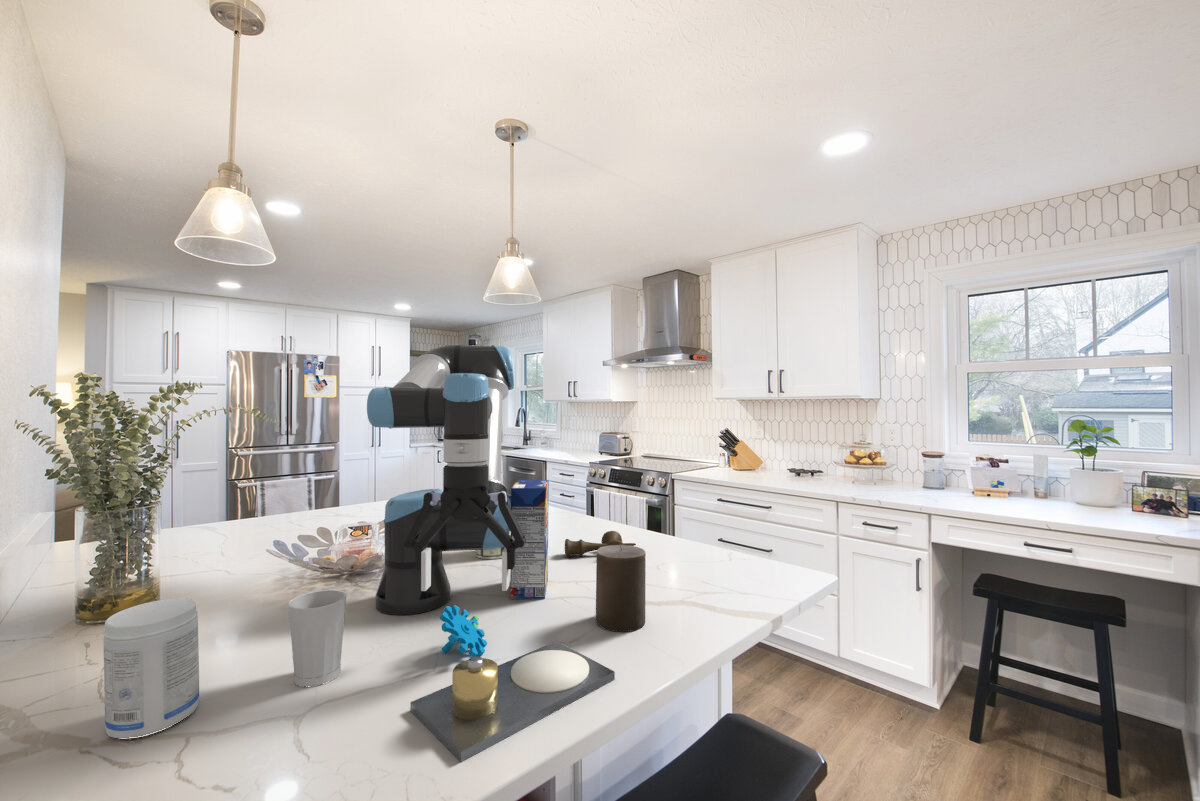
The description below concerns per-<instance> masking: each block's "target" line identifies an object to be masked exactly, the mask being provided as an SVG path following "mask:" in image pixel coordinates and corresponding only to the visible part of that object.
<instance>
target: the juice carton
mask: <svg viewBox="0 0 1200 801" xmlns="http://www.w3.org/2000/svg"><path fill="white" fill-rule="evenodd" d="M549 484H550V482H549V479H517V480H516V481H515V482H514V484H513V485H512V487H511V488H510V490H511V491H510V493H511V510H512V512H513V514H514V516H515V518H516V520H517V522H518V524H519V526H520V528H521V530H522V532H523V534H524V536H525V538H526V542H525V544H524V546H523V547H519V548H517V549H516V550H515V566H514V568H513V569H510V570H509V587H510V588H509V590H510V592H509V593H510V594H509V596H510V597H509V598H510V600H545V599H546V593H547V588H548V587H547V586H548V580H549V491H550V490H549ZM511 537H512V539H513V540H515V539H514V537H513V535H512V533H511Z"/></svg>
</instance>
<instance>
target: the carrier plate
mask: <svg viewBox="0 0 1200 801" xmlns="http://www.w3.org/2000/svg"><path fill="white" fill-rule="evenodd" d="M546 650H561V651H568V652H572V653H575V654H577V655H579V656H581V657H582V658H584V659H585V660H586V661H587V663H588V665H589V674H588V676H587V678H586V679H585V680H584V681H583V682H582V683H581V684H579V685H578V686H576V687H574V688H571V689H569V690H565V691H561V692H555V693H538V692H532V691H528V690H525V689H523V688H521V687H519V686H517V685H516V684H515V683H514V682H513V680H512V678H511V669H512V667H513V665H514V664H515V663H516V662H517V661H518V660H519V659H521V658H522V657H524V656H526V655H529V654H532V653H535V652H539V651H546ZM615 674H616V673H615V671H614V670H613V669H612V668H608V667H606V666H605V665H604V664H602V663H599V662H597V661H596V660H594V659H592V658H590V657H588V656H587V655H584V654H582V653H580V652H578V651H577V650H574V649H573V648H571V647H569V646H567V645H565V644H563V643H562V642H560V641H558V640H556V641H554V642H551V643H549V644H546V645H544V646H542V647H540V648H537V649H535V650H532V651H529V652H528V653H525V654H522V655H520V656H517V657H516V658H513V659H511V660H508V661H506V662H503V663H501V664H497V662H496V661H494V660H493V659H489V658H486V657H481V656H476V657H470V658H469V659H467V660H464V661H461V662H459V663H458V664H457V665H455V666H454V667H453V670H452V680H451V681H452V684H451V685H448V686H446V687H443V688H441V689H439V690H436V691H434V692H432V693H429V694H427V695H424V696H421V697H419V698H417V699H414V700H412V701H410V702H409V703H410V712H411V713H412V714H413V715H414V717H415V718H417V720H419V721H420V722H421V723H422V724H423V726H425V727H426V728H427V729H428V731H430V732H431V733H432V734H433V735H434V736H435V737H436V738H437V739H438V741H439V742H441V744H442V745H443V746H444V747H445V748H446V749H447V750H448V751H449V752H450V753H451V755H453V756H454V757H455V758H456V759H457V760H458V761H459V762H460V763H463V762H464V761H466V760H467V759H470V758H471V757H473V756H475V755H476V754H480V753H481V752H482V751H485V750H486V749H489V748H491V747H492V746H495V745H496V744H497V743H500V742H501V741H503V740H505V739H506V738H509V737H510V736H513V735H514V734H516V733H518V732H519V731H521V730H523V729H525V728H527V727H529V726H531V725H533V724H534V723H537V722H538V721H540V720H542V719H544V718H545V717H548V716H549V715H552V714H553V713H555V712H557V711H558V710H560V709H562V708H564V707H567V706H568V705H570V704H571V703H574V702H576V701H577V700H579V699H581V698H583V697H585V696H587V695H588V694H591V693H592V692H593V691H595V690H597V689H600V688H601V687H603V686H605V685H608V684H609V683H611V682H612V681H615V679H616V678H615Z"/></svg>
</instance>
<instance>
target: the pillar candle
mask: <svg viewBox="0 0 1200 801" xmlns="http://www.w3.org/2000/svg"><path fill="white" fill-rule="evenodd" d="M646 567H647V566H646V550H645V549H643V548H641V547H640V546H639V547H638V546H636V545H635V546H627V545H621V544H620V545H611V546H604V547H600V548H599V549H598V550H596V566H595V568H596V570H595V571H596V572H595V574H596V577H595V578H596V581H595V582H596V584H595V586H596V587H595V588H596V589H595V621H596V623H597V625H598V626H599V627H601V628H602V629H603V630H607V631H611V632H634V631H636V630H639V629H641V628H644V626H645V624H646Z"/></svg>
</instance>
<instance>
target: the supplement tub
mask: <svg viewBox="0 0 1200 801" xmlns="http://www.w3.org/2000/svg"><path fill="white" fill-rule="evenodd" d="M198 617H199V615H198V610H197V603H196V601H195V600H193V599H190V598H185V597H184V598H183V597H181V598H180V597H178V598H176V597H175V598H166V599H160V600H154V601H149V602H145V603H140V604H138V605H134V606H131V607H128V608H125V609H123V610H120V611H118V612H116V613H114V614H112V615H110V616H109V617H108V618H107V619H106V620H105V621H104V631H103V678H104V680H103V681H104V683H103V685H104V687H103V688H104V689H103V690H104V724H105V733H106V735H107V736H108V737H110V736H111V737H114V738H129V737H138V736H143V735H146V734H150V733H153V732H156V731H159V730H162V729H164V728H167V727H169V726H171V725H173V724H175V723H177V722H179V721H181V720H182V719H184V718H186V717H187V716H188V717H189V715H190V714H191V713H192V714H193V713H194V711H195V710H196V709H197V708H198V705H199V703H200V659H199V658H200V656H199V655H200V654H199V653H200V652H199V651H200V650H199V620H198V619H199V618H198ZM192 714H191V715H192ZM191 715H190V716H191ZM188 717H187V718H188ZM187 718H186V719H187ZM184 720H185V719H184ZM181 722H182V721H181ZM111 737H110V738H111ZM114 738H113V739H114Z"/></svg>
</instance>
